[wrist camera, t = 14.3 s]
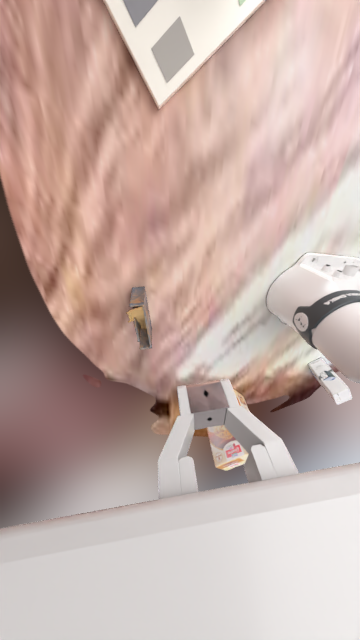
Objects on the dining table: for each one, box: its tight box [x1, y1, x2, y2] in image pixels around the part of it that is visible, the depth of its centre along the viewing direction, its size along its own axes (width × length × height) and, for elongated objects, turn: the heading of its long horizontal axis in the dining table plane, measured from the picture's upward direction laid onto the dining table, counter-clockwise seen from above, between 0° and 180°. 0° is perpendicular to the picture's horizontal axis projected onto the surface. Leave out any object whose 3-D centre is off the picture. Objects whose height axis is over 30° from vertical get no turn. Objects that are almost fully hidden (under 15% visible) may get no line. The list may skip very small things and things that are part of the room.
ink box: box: [308, 358, 352, 405], centre depth 62 cm, size 9×5×12 cm, turn 37°
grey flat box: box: [126, 287, 152, 350], centre depth 40 cm, size 11×3×10 cm, turn 2°
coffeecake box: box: [207, 389, 249, 471], centre depth 64 cm, size 15×7×20 cm, turn 130°
